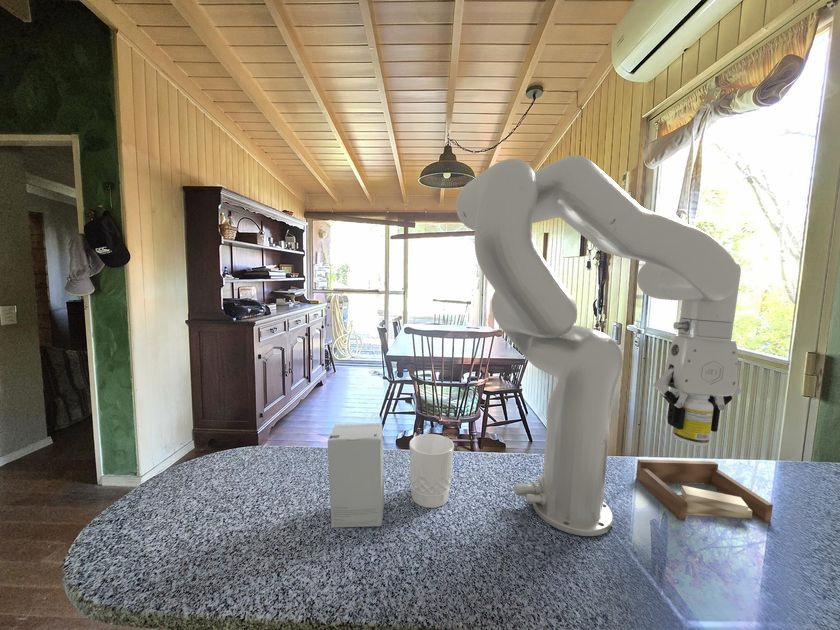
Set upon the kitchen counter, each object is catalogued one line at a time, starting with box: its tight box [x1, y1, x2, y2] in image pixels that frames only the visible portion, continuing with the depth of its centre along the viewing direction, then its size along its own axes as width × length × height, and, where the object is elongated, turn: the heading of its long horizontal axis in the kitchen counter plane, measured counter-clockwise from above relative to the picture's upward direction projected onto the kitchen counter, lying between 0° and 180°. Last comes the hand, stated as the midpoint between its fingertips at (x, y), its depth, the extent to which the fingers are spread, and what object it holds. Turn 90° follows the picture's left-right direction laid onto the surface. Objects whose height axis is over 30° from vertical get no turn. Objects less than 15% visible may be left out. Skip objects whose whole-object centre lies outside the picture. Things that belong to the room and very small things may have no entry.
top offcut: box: [680, 485, 748, 514], centre depth 61 cm, size 8×3×1 cm, turn 67°
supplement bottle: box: [672, 394, 713, 447], centre depth 65 cm, size 5×5×10 cm
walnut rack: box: [635, 459, 774, 524], centre depth 64 cm, size 15×12×4 cm
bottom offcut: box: [686, 511, 745, 519], centre depth 62 cm, size 11×3×1 cm, turn 87°
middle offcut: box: [678, 494, 753, 519], centre depth 61 cm, size 10×3×1 cm, turn 84°
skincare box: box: [327, 422, 385, 529], centre depth 57 cm, size 8×6×15 cm
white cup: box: [408, 433, 455, 509], centre depth 64 cm, size 8×8×10 cm
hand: (691, 426), depth 65 cm, fingers closed on supplement bottle, 5 cm apart
